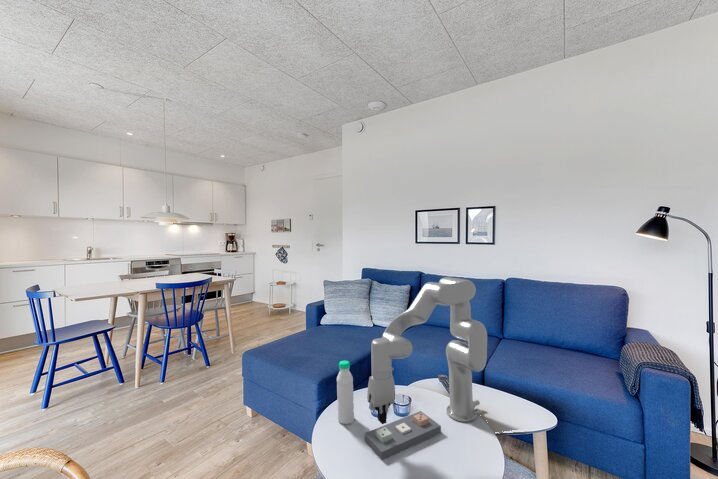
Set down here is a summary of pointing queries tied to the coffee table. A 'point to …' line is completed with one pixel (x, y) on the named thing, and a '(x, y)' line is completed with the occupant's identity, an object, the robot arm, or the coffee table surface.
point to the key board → (401, 436)
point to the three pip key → (420, 419)
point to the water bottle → (345, 394)
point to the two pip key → (383, 435)
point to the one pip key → (403, 428)
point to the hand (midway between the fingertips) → (382, 421)
